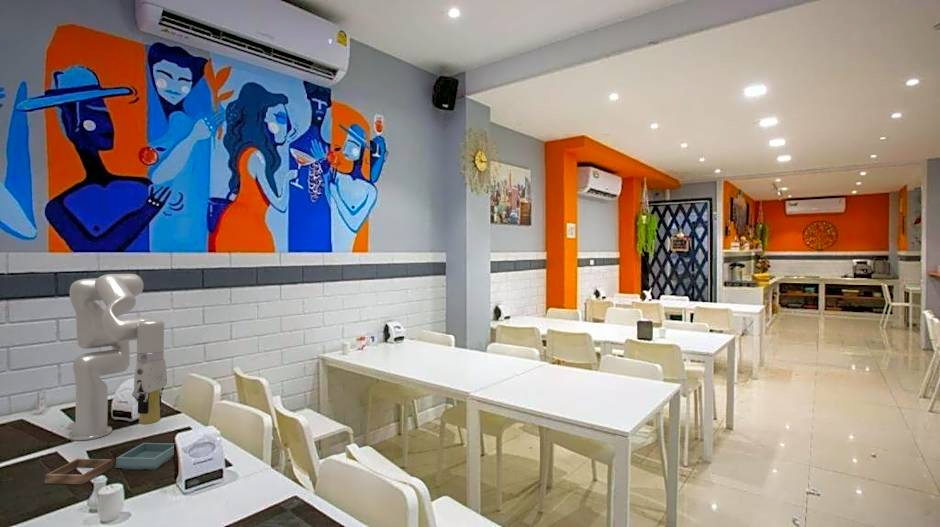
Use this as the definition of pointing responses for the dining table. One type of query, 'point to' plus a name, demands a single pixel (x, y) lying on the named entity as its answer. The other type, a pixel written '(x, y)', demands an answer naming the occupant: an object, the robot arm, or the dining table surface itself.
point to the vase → (151, 409)
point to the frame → (63, 478)
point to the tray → (146, 456)
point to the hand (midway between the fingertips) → (149, 409)
